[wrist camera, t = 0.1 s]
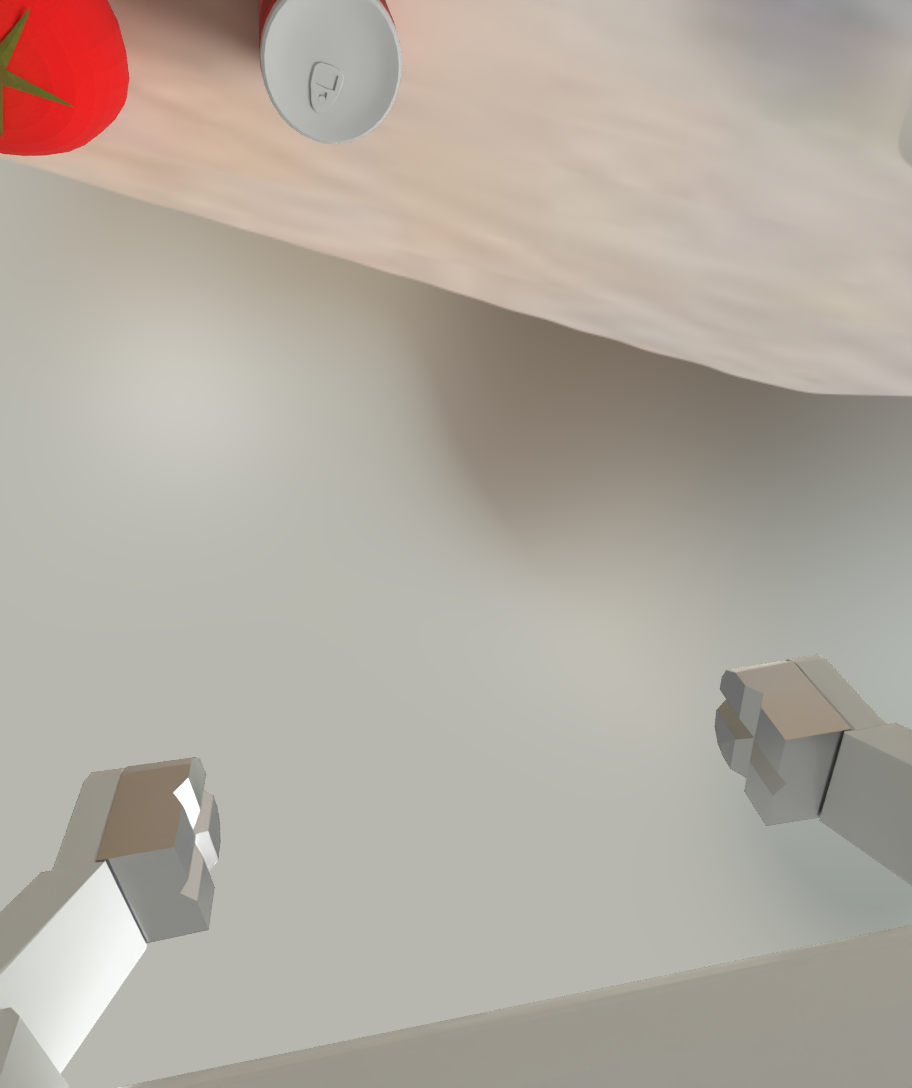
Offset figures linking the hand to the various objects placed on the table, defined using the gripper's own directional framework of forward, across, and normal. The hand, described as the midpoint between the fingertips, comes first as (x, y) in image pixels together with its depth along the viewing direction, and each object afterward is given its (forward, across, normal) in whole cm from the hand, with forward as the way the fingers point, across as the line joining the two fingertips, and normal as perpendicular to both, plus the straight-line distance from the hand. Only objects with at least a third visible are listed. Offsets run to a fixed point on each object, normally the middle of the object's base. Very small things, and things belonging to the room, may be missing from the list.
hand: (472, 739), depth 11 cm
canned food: (+50, 0, -14) cm, 52 cm away
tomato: (+50, +18, -14) cm, 55 cm away
